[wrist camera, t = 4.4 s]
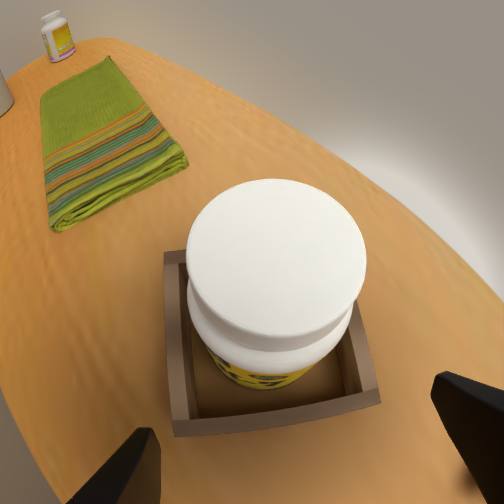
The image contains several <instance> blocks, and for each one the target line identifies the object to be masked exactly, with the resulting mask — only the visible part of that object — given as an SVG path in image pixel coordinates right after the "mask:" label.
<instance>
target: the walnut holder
mask: <svg viewBox="0 0 504 504" xmlns="http://www.w3.org/2000/svg"><path fill="white" fill-rule="evenodd" d="M188 279H189V275H188V271H187V265H186V249H185V250H177V251H169V252H164V312H165V337H166V355H167V370H168V383H169V395H170V405H171V415H172V424H173V433H174V437H185V436H204V435H218V434H229V433H239V432H247V431H255V430H262V429H269V428H276V427H282V426H288V425H293V424H299V423H304V422H309V421H314V420H318V419H323V418H327V417H332V416H336V415H340V414H344V413H348V412H352V411H356V410H359V409H363V408H367V407H370V406H373V405H377V404H380V403H381V400H380V395H379V390H378V385H377V381H376V376H375V371H374V367H373V363H372V358H371V354H370V350H369V346H368V342H367V338H366V334H365V330H364V326H363V322H362V318H361V315H360V311H359V307H358V304H357V300H356V299H355V301H354V303H353V309H352V314H351V318H350V321H349V324H348V326H347V328H346V331H345V332H344V334H343V336H342V338H341V339H340V341H339V342H338V343H337V345H336V350H337V355H338V360H339V364H340V369H341V374H342V379H343V384H344V389H345V394H346V396H345V397H341V398H336V399H332V400H328V401H323V402H318V403H314V404H309V405H304V406H298V407H293V408H287V409H281V410H275V411H268V412H261V413H254V414H246V415H238V416H229V417H218V418H206V419H199V413H198V405H197V396H196V386H195V376H194V366H193V355H192V343H191V330H190V316H189V308H188V302H187V287H188Z"/></svg>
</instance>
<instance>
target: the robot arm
mask: <svg viewBox="0 0 504 504" xmlns="http://www.w3.org/2000/svg"><path fill="white" fill-rule="evenodd" d="M431 399H432V401H433V404H434V406H435V408H436V410H437V412H438V414H439V416H440V418H441V421H442V423H443V425H444V427H445V429H446V431H447V433H448V435H449V437H450V438H451V440H452V442H453V443H454V445H455V447H456V448H457V450H458V452H459V453H460V455H461V457H462V459H463V460H464V462H465V464H466V466H467V467H468V469H469V471H470V473H471V475H472V476H473V478H474V480H475V482H476V484H477V485H478V487H479V489H480V491H481V493H482V495H483V497H484V499H485V500H486V502H487V504H504V390H501V389H498V388H495V387H492V386H489V385H486V384H483V383H480V382H477V381H474V380H471V379H468V378H465V377H463V376H460V375H457V374H454V373H451V372H449V371H444V372H442V373H439V374H437V375H436V376H435V379H434V383H433V386H432V390H431ZM160 495H161V449H160V444H159V442H158V440H157V438H156V435H155V433H154V431H153V429H152V428H150V427H139V428H137V429H136V430H135V431H134V432H133V433H132V434H131V435H130V437H129V438H128V439H127V440H126V441H125V442H124V443H123V444H122V445H121V446H120V447H119V448H118V450H117V451H116V452H115V453H114V454H113V455H112V456H111V457H110V458H109V459H108V460H107V461H106V462H105V463H104V464H103V465H102V467H101V468H100V469H99V470H98V471H97V472H96V473H95V474H94V475H93V476H92V477H91V478H90V479H89V480H88V481H87V482H86V483H85V484H84V485H83V486H82V487H81V489H80V490H79V491H78V492H77V493H76V494H75V495H74V496H73V499H72V498H71V499H70V500H69V501H68V502H67V503H66V504H160Z"/></svg>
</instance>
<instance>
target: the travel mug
mask: <svg viewBox="0 0 504 504" xmlns="http://www.w3.org/2000/svg"><path fill="white" fill-rule="evenodd" d="M13 102H14V99H13V97H12V95H11V93H10V91H9V88H8V86H7V84H6V82H5V79H4V77H3V75H2V72H1V70H0V117H1V116H2V115H4V114H5V113H6V112H7V111H8V110H9V108H10V107H11V106H12V104H13Z"/></svg>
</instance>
